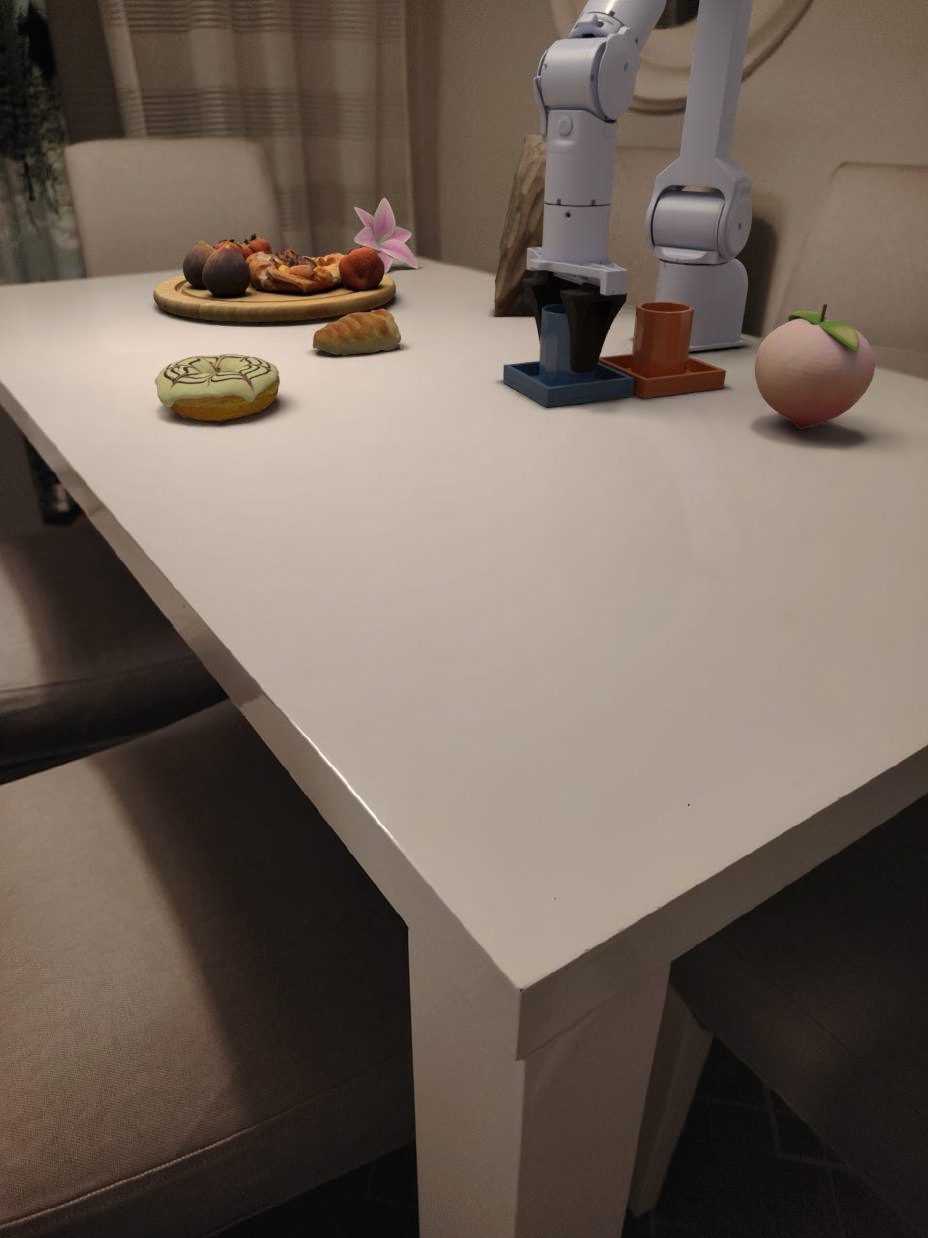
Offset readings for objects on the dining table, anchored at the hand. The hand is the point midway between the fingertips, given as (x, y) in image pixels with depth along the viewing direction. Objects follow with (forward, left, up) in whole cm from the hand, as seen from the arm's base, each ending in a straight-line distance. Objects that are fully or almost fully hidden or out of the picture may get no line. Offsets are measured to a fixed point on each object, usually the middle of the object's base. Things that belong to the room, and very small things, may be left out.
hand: (567, 363), depth 84 cm
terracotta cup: (-10, +1, -2) cm, 10 cm away
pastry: (+13, -23, -3) cm, 27 cm away
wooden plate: (+15, -53, -3) cm, 55 cm away
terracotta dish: (-10, +1, -2) cm, 10 cm away
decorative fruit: (-12, +18, -3) cm, 22 cm away
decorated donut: (+31, -7, -3) cm, 32 cm away
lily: (-7, -73, -3) cm, 73 cm away
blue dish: (0, 0, -2) cm, 2 cm away
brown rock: (-14, -35, -3) cm, 38 cm away
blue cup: (0, 0, -2) cm, 2 cm away
